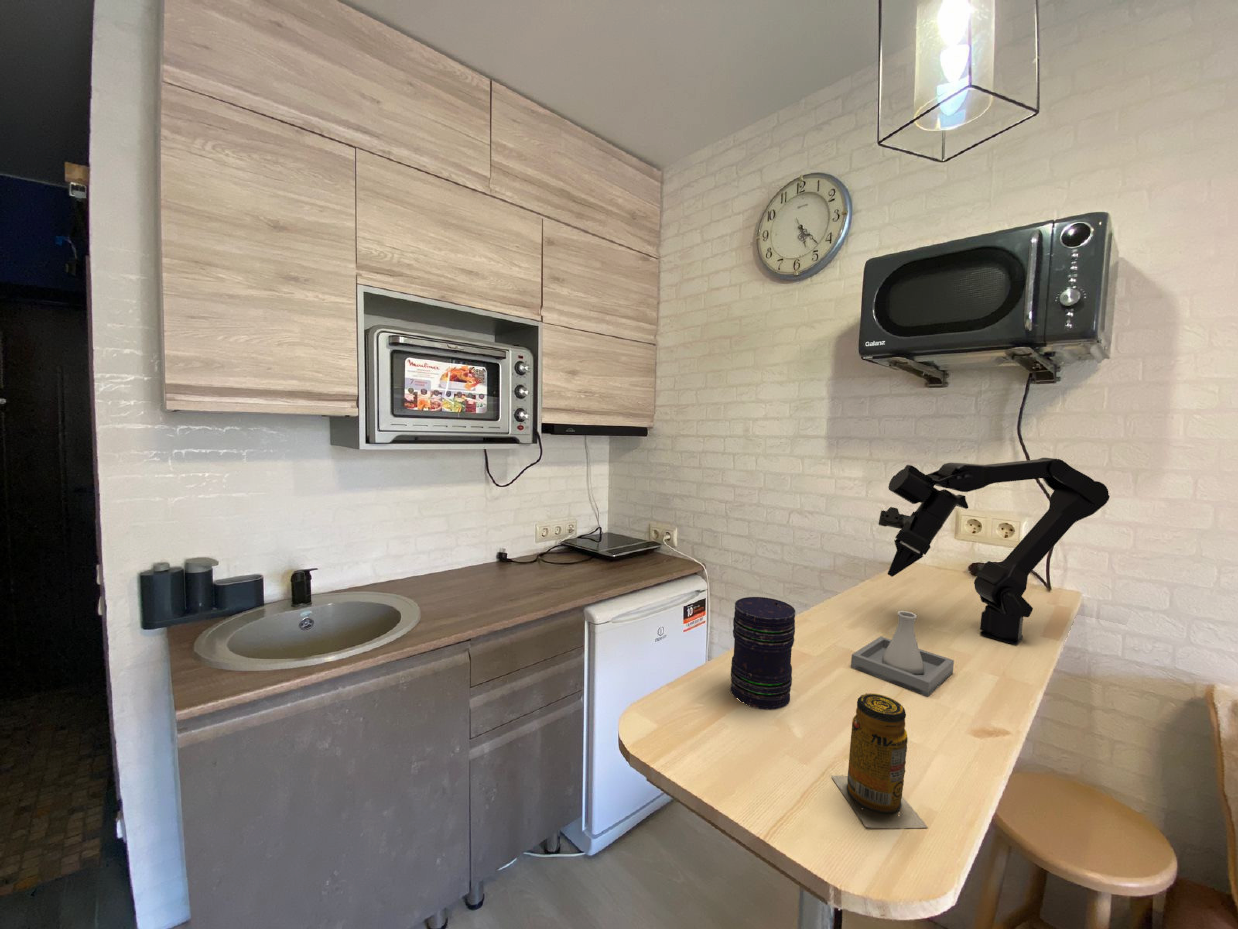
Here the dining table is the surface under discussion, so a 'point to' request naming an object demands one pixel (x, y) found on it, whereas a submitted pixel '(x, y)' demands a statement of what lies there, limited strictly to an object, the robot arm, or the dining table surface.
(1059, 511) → the robot arm
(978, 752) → the dining table surface
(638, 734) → the dining table surface
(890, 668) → the tray
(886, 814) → the condiment
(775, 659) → the storage jar
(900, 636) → the flask
